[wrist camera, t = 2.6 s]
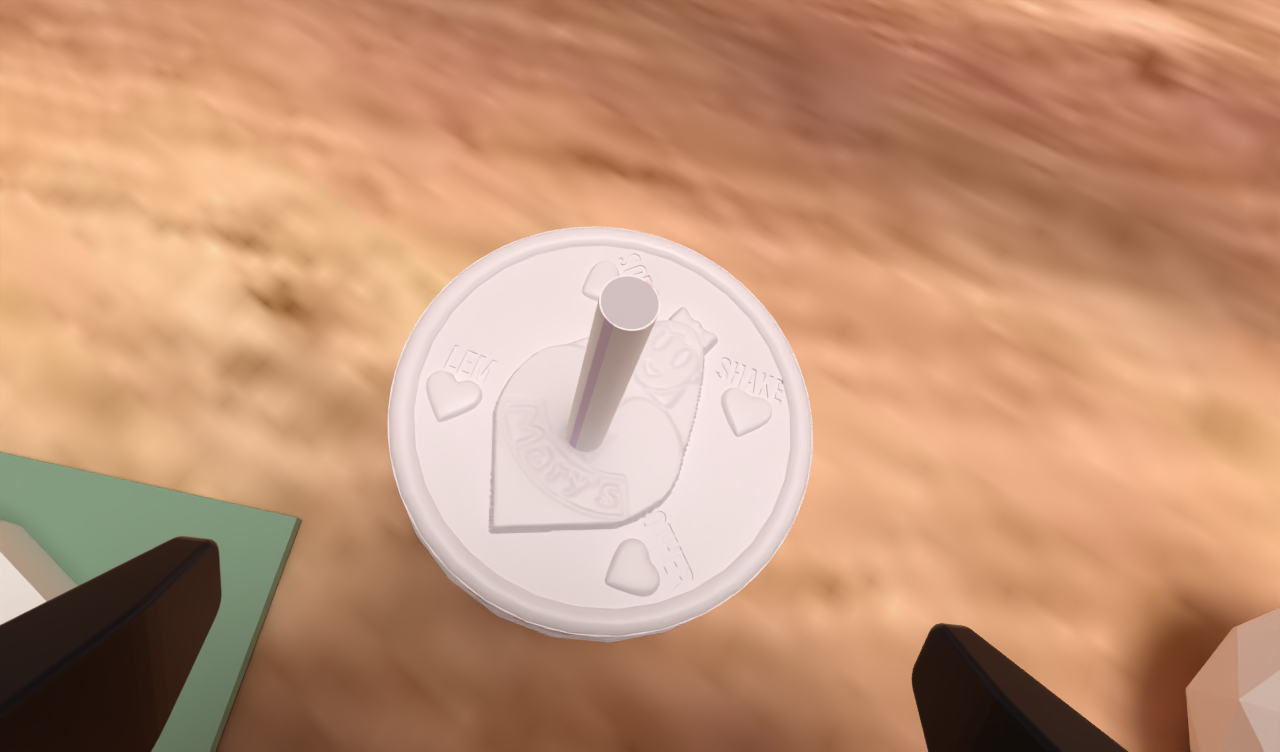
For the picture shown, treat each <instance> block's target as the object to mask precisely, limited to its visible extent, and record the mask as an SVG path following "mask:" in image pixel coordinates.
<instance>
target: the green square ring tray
mask: <svg viewBox="0 0 1280 752" xmlns="http://www.w3.org/2000/svg"><path fill="white" fill-rule="evenodd" d="M300 523H301V520H300V519H298V518H296V517H292V516H287V515H282V514H278V513H273V512H269V511H264V510H260V509H255V508H251V507H246V506H242V505H237V504H233V503H228V502H224V501H219V500H215V499H210V498H205V497H201V496H196V495H192V494H187V493H183V492H178V491H174V490H169V489H165V488H160V487H156V486H151V485H147V484H142V483H137V482H133V481H128V480H124V479H119V478H115V477H110V476H106V475H101V474H97V473H92V472H88V471H83V470H79V469H74V468H69V467H65V466H60V465H56V464H51V463H47V462H42V461H38V460H33V459H29V458H24V457H20V456H15V455H11V454H6V453H1V452H0V625H1V624H3V623H5V622H7V621H9V620H11V619H13V618H15V617H17V616H19V615H21V614H23V613H25V612H27V611H29V610H31V609H33V608H35V607H37V606H39V605H41V604H43V603H45V602H47V601H49V600H51V599H53V598H55V597H57V596H59V595H61V594H63V593H65V592H67V591H69V590H71V589H73V588H75V587H77V586H79V585H81V584H83V583H85V582H86V581H88V580H90V579H92V578H94V577H96V576H98V575H100V574H102V573H104V572H106V571H108V570H110V569H112V568H114V567H116V566H118V565H120V564H122V563H124V562H126V561H128V560H130V559H132V558H134V557H136V556H138V555H140V554H142V553H144V552H146V551H148V550H150V549H152V548H154V547H156V546H158V545H160V544H162V543H164V542H166V541H168V540H170V539H172V538H175V537H178V536H189V537H198V538H207V539H212V540H213V541H215V542H216V543H217V545H218V548H219V556H220V573H221V589H222V597H221V603H220V607H219V611H218V613H217V616H216V618H215V620H214V622H213V625H212V627H211V629H210V631H209V633H208V635H207V637H206V640H205V642H204V644H203V646H202V648H201V650H200V652H199V655H198V657H197V659H196V661H195V663H194V665H193V668H192V670H191V672H190V674H189V676H188V678H187V680H186V683H185V685H184V687H183V689H182V691H181V693H180V695H179V698H178V700H177V702H176V704H175V706H174V708H173V711H172V713H171V715H170V717H169V719H168V721H167V723H166V725H165V727H164V729H163V731H162V733H161V735H160V737H159V739H158V741H157V742H156V744H155V746H154V748H153V749H152V751H151V752H216V749H217V746H218V743H219V741H220V738H221V735H222V733H223V730H224V727H225V725H226V722H227V719H228V717H229V714H230V711H231V708H232V706H233V703H234V700H235V698H236V695H237V692H238V690H239V687H240V684H241V682H242V679H243V676H244V673H245V671H246V668H247V665H248V663H249V660H250V657H251V655H252V652H253V649H254V647H255V644H256V641H257V638H258V636H259V633H260V630H261V628H262V625H263V622H264V620H265V617H266V614H267V612H268V609H269V606H270V603H271V601H272V598H273V595H274V593H275V590H276V587H277V585H278V582H279V579H280V577H281V574H282V571H283V568H284V566H285V563H286V560H287V558H288V555H289V552H290V550H291V547H292V544H293V542H294V539H295V536H296V533H297V531H298V528H299V525H300Z"/></svg>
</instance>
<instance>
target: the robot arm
mask: <svg viewBox="0 0 1280 752" xmlns="http://www.w3.org/2000/svg"><path fill="white" fill-rule="evenodd" d="M221 597H222V589H221V573H220V556H219V548H218V545H217V543H216V542H215V541H213V540H212V539H207V538H198V537H189V536H178V537H175V538H172V539H170V540H168V541H166V542H164V543H162V544H160V545H158V546H156V547H154V548H152V549H150V550H148V551H146V552H144V553H142V554H140V555H138V556H136V557H134V558H132V559H130V560H128V561H126V562H124V563H122V564H120V565H118V566H116V567H114V568H112V569H110V570H108V571H106V572H104V573H102V574H100V575H98V576H96V577H94V578H92V579H90V580H88V581H86V582H85V583H83V584H81V585H79V586H77V587H75V588H73V589H71V590H69V591H67V592H65V593H63V594H61V595H59V596H57V597H55V598H53V599H51V600H49V601H47V602H45V603H43V604H41V605H39V606H37V607H35V608H33V609H31V610H29V611H27V612H25V613H23V614H21V615H19V616H17V617H15V618H13V619H11V620H9V621H7V622H5V623H3V624H1V625H0V752H151V751H152V749H153V748H154V746H155V744H156V742H157V741H158V739H159V737H160V735H161V733H162V731H163V729H164V727H165V725H166V723H167V721H168V719H169V717H170V715H171V713H172V711H173V708H174V706H175V704H176V702H177V700H178V698H179V695H180V693H181V691H182V689H183V687H184V685H185V683H186V680H187V678H188V676H189V674H190V672H191V670H192V668H193V665H194V663H195V661H196V659H197V657H198V655H199V652H200V650H201V648H202V646H203V644H204V642H205V640H206V637H207V635H208V633H209V631H210V629H211V627H212V625H213V622H214V620H215V618H216V616H217V613H218V611H219V607H220V603H221ZM912 687H913V692H914V696H915V700H916V704H917V708H918V712H919V716H920V720H921V724H922V728H923V732H924V736H925V740H926V744H927V749H928V752H1128V751H1127V750H1126V749H1124V748H1123V747H1122V746H1120V745H1119V744H1118V743H1117V742H1115V741H1114V740H1113V739H1111V738H1110V737H1109V736H1108V735H1106V734H1105V733H1104V732H1102V731H1101V730H1100V729H1099V728H1097V727H1096V726H1095V725H1093V724H1092V723H1091V722H1090V721H1088V720H1087V719H1086V718H1084V717H1083V716H1082V715H1081V714H1079V713H1078V712H1077V711H1075V710H1074V709H1073V708H1072V707H1070V706H1069V705H1068V704H1066V703H1065V702H1064V701H1063V700H1061V699H1060V698H1059V697H1057V696H1056V695H1055V694H1054V693H1052V692H1051V691H1050V690H1048V689H1047V688H1046V687H1045V686H1043V685H1042V684H1041V683H1039V682H1038V681H1037V680H1036V679H1034V678H1033V677H1032V676H1030V675H1029V674H1028V673H1027V672H1025V671H1024V670H1023V669H1021V668H1020V667H1019V666H1018V665H1016V664H1015V663H1014V662H1012V661H1011V660H1010V659H1009V658H1007V657H1006V656H1005V655H1003V654H1002V653H1001V652H1000V651H998V650H997V649H996V648H994V647H993V646H992V645H991V644H989V643H988V642H987V641H985V640H984V639H983V638H982V637H980V636H979V635H978V634H976V633H975V632H974V631H973V630H971V629H970V628H968V627H965V626H961V625H952V624H944V623H940V624H936V625H935V626H933V627H932V628H931V630H930V632H929V634H928V636H927V638H926V640H925V643H924V645H923V647H922V649H921V652H920V654H919V656H918V658H917V660H916V663H915V665H914V668H913V672H912Z"/></svg>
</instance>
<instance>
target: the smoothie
mask: <svg viewBox="0 0 1280 752" xmlns="http://www.w3.org/2000/svg"><path fill="white" fill-rule="evenodd" d="M388 441H389V452H390V458H391V463H392V468H393V473H394V477H395V480H396V483H397V486H398V490H399V493H400V496H401V498H402V501H403V503H404V505H405V507H406V510H407V513H408V515H409V518H410V521H411V523H412V526H413V529H414V531H415V534H416V535H417V537H418V538H419V539H420V541H421V542H422V543H423V545H424V546H425V547H426V549H427V550H428V551H429V553H430V554H431V556H432V557H433V558H434V560H435V561H436V562H437V564H438V565H439V566H440V568H441V569H442V570H443V572H444V573H445V574H446V576H447V577H448V578H449V580H450V581H451V582H453V583H454V584H455V585H457V586H458V587H459V588H461V589H462V590H463V591H465V592H466V593H467V594H469V595H470V596H471V597H473V598H474V599H475V600H477V601H478V602H479V603H481V604H482V605H483V606H484V607H486V608H487V609H488V610H490V611H491V612H492V613H494V614H495V615H496V616H498V617H501V618H503V619H506V620H508V621H511V622H514V623H516V624H519V625H521V626H524V627H527V628H529V629H532V630H534V631H537V632H540V633H542V634H545V635H547V636H550V637H553V638H563V639H575V640H586V641H597V642H608V643H613V642H618V641H623V640H628V639H633V638H638V637H644V636H649V635H654V634H659V633H664V632H668V631H670V630H672V629H674V628H676V627H678V626H680V625H682V624H684V623H686V622H688V621H690V620H692V619H694V618H696V617H699V616H701V615H703V614H705V613H707V612H709V611H710V610H712V609H714V608H716V607H717V606H719V605H721V604H722V603H724V602H725V601H727V600H728V599H729V598H731V597H732V596H734V595H735V594H736V593H738V592H739V591H740V590H742V589H743V588H744V587H745V586H746V585H747V584H748V583H749V582H750V581H751V580H753V579H754V578H755V577H756V576H757V575H758V574H759V573H760V571H761V570H762V569H763V568H764V567H765V566H766V565H767V564H768V562H769V561H770V560H771V559H772V557H773V556H774V555H775V553H776V552H777V550H778V549H779V548H780V546H781V545H782V543H783V542H784V540H785V538H786V536H787V535H788V533H789V531H790V529H791V527H792V526H793V523H794V521H795V519H796V517H797V514H798V512H799V510H800V507H801V504H802V501H803V498H804V495H805V492H806V488H807V484H808V479H809V474H810V470H811V460H812V451H813V427H812V416H811V408H810V403H809V397H808V392H807V389H806V385H805V382H804V378H803V375H802V372H801V370H800V367H799V364H798V362H797V359H796V357H795V355H794V353H793V351H792V349H791V347H790V345H789V343H788V340H787V339H786V337H785V335H784V334H783V332H782V331H781V329H780V327H779V326H778V324H777V323H776V321H775V320H774V319H773V317H772V316H771V315H770V313H769V312H768V311H767V309H766V308H765V307H764V306H763V305H762V303H761V302H760V301H759V300H758V299H757V298H756V297H755V296H754V294H752V293H751V292H750V291H749V290H748V289H747V288H746V287H745V286H744V285H743V284H742V283H741V282H740V281H739V280H737V279H736V278H735V277H734V276H732V275H731V274H730V273H729V272H727V271H726V270H725V269H723V268H722V267H720V266H719V265H717V264H716V263H714V262H713V261H711V260H710V259H708V258H706V257H704V256H703V255H701V254H699V253H697V252H695V251H694V250H691V249H689V248H687V247H685V246H683V245H680V244H678V243H676V242H673V241H670V240H667V239H664V238H662V237H659V236H655V235H651V234H647V233H644V232H639V231H634V230H628V229H622V228H611V227H576V228H565V229H559V230H553V231H547V232H543V233H540V234H536V235H532V236H528V237H526V238H523V239H520V240H517V241H515V242H512V243H509V244H507V245H505V246H503V247H501V248H499V249H497V250H495V251H493V252H491V253H489V254H488V255H486V256H484V257H482V258H481V259H479V260H477V261H476V262H474V263H473V264H472V265H470V266H469V267H468V268H466V269H465V270H464V271H462V272H461V273H460V274H459V275H457V276H456V277H455V278H454V279H453V280H452V281H451V282H450V283H448V284H447V285H446V286H445V287H444V288H443V289H442V291H441V292H440V293H439V294H438V295H437V296H436V297H435V298H434V299H433V300H432V302H431V303H430V304H429V306H428V307H427V308H426V310H425V311H424V312H423V314H422V315H421V317H420V318H419V320H418V321H417V323H416V325H415V326H414V328H413V330H412V331H411V333H410V335H409V337H408V339H407V342H406V344H405V346H404V348H403V350H402V353H401V356H400V358H399V361H398V364H397V367H396V370H395V374H394V378H393V382H392V387H391V391H390V399H389V407H388Z"/></svg>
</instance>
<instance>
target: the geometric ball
mask: <svg viewBox="0 0 1280 752" xmlns="http://www.w3.org/2000/svg"><path fill="white" fill-rule="evenodd" d="M1186 699H1187V712H1188V725H1189V738H1190V752H1280V607H1279V608H1277V609H1275V610H1272V611H1270V612H1268V613H1265V614H1263V615H1261V616H1258V617H1256V618H1254V619H1251V620H1249V621H1247V622H1245V623H1242V624H1240V625H1238V626H1235V627H1233V628H1232V629H1231V631H1230V632H1229V633H1228V634H1227V636H1226V637H1225V638H1224V640H1223V641H1222V642H1221V644H1220V645H1219V646H1218V647H1217V649H1216V650H1215V651H1214V653H1213V654H1212V655H1211V656H1210V658H1209V659H1208V660H1207V662H1206V663H1205V664H1204V666H1203V667H1202V668H1201V669H1200V671H1199V672H1198V673H1197V675H1196V676H1195V677H1194V678H1193V680H1192V681H1191V682H1190V684H1189V685H1188V686H1187V688H1186Z"/></svg>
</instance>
